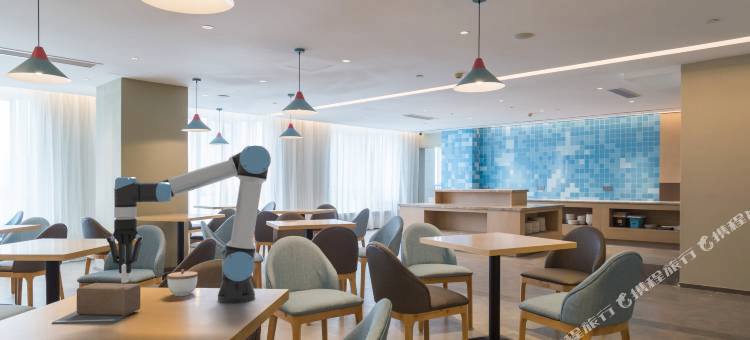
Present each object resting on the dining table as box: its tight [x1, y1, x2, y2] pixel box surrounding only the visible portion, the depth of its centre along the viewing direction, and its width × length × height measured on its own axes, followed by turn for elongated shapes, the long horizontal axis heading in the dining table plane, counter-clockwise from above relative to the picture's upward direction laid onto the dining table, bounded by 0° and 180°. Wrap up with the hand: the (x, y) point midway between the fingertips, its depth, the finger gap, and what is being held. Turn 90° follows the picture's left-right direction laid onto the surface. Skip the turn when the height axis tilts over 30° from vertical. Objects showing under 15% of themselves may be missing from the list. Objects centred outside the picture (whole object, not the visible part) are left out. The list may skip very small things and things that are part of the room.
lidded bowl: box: [166, 269, 199, 297], centre depth 220 cm, size 13×13×11 cm
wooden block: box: [76, 282, 141, 316], centre depth 187 cm, size 10×10×20 cm
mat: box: [51, 310, 134, 325], centre depth 183 cm, size 22×17×1 cm
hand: (125, 281), depth 184 cm, fingers closed
